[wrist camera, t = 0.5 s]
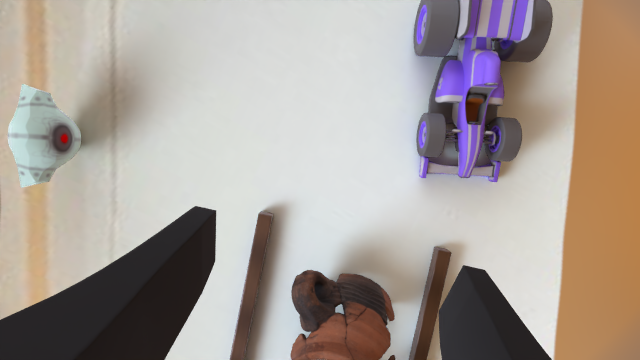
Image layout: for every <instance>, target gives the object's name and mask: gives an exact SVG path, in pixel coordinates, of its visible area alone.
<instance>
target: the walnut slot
mask: <svg viewBox="0 0 640 360" xmlns="http://www.w3.org/2000/svg"><path fill="white" fill-rule="evenodd" d="M272 219H273V214H272V213H267V212H262V211H261V212H260V213H259V214H258V220H257V225H256V230H255V235H254V240H253V245H252V250H251V255H250V260H249V265H248V270H247V275H246V280H245V285H244V290H243V295H242V300H241V305H240V310H239V315H238V320H237V325H236V330H235V335H234V340H233V345H232V350H231V355H230V360H244V358H245V353H246V348H247V343H248V338H249V334H250V329H251V324H252V319H253V314H254V309H255V304H256V299H257V294H258V289H259V284H260V279H261V274H262V269H263V264H264V259H265V254H266V249H267V244H268V239H269V234H270V229H271V224H272ZM450 257H451V252H450V251H448V250H447V249H443V248H438V247H434V252H433V256H432V260H431V265H430V269H429V273H428V278H427V282H426V286H425V291H424V295H423V300H422V304H421V308H420V313H419V317H418V321H417V326H416V330H415V334H414V339H413V343H412V348H411V352H410V356H409V360H427V356H428V351H429V347H430V343H431V338H432V334H433V330H434V325H435V321H436V317H437V313H438V308H439V304H440V300H441V295H442V291H443V287H444V282H445V278H446V274H447V269H448V265H449V261H450Z"/></svg>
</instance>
